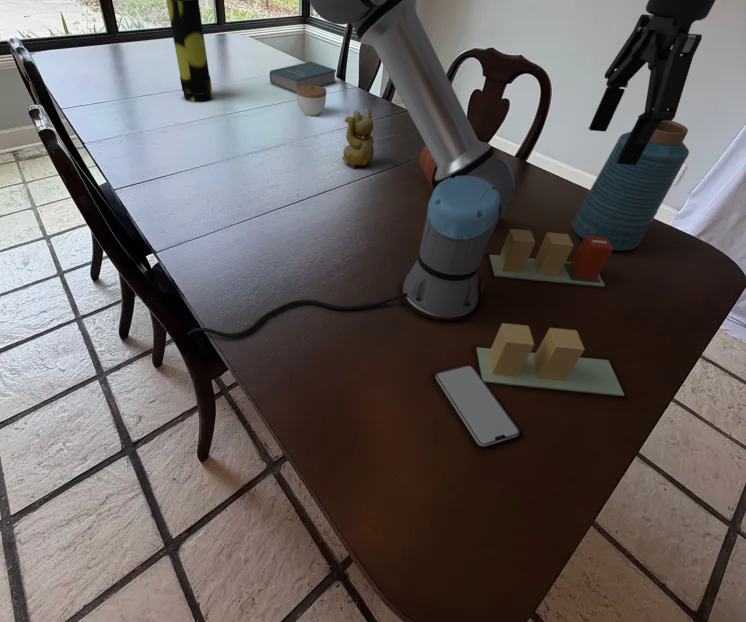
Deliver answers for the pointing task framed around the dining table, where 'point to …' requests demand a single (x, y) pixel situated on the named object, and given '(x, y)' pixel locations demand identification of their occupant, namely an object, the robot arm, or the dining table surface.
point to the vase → (632, 189)
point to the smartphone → (477, 406)
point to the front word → (545, 362)
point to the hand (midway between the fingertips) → (610, 146)
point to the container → (190, 49)
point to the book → (302, 76)
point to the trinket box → (311, 99)
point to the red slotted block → (591, 257)
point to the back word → (538, 259)
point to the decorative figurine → (359, 139)
